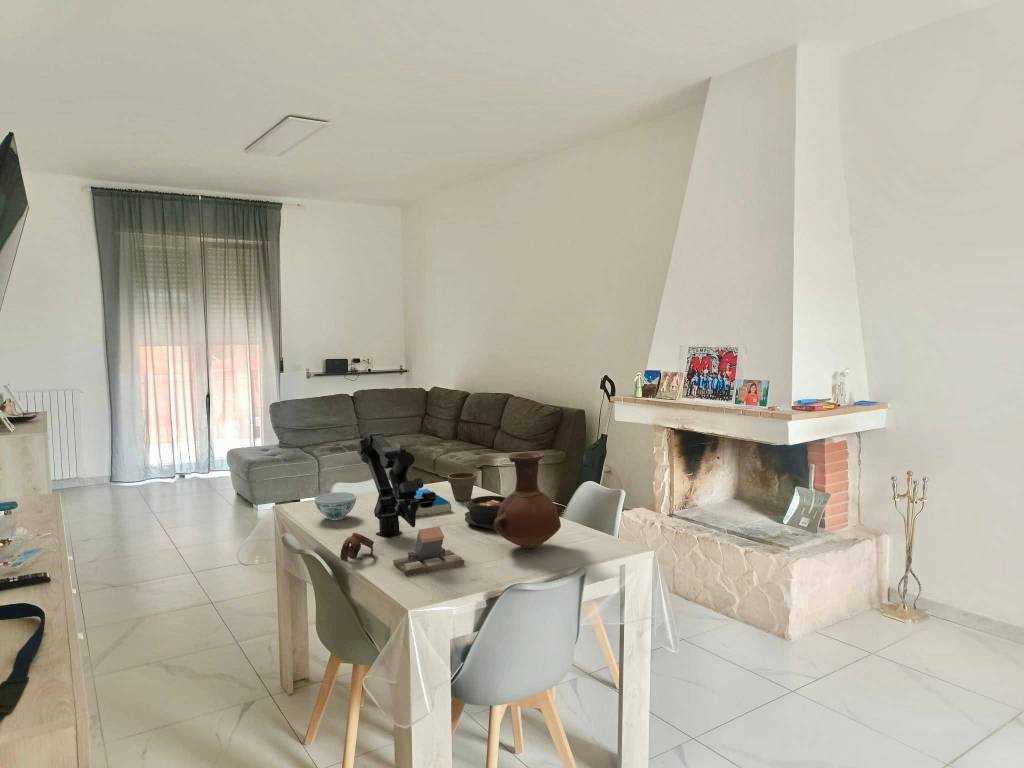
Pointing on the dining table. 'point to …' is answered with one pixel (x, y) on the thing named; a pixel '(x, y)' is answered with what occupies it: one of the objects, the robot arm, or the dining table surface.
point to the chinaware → (335, 504)
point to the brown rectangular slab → (428, 562)
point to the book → (438, 506)
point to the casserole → (483, 511)
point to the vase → (527, 506)
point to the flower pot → (462, 485)
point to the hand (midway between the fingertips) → (413, 526)
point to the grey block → (429, 543)
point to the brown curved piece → (355, 546)
